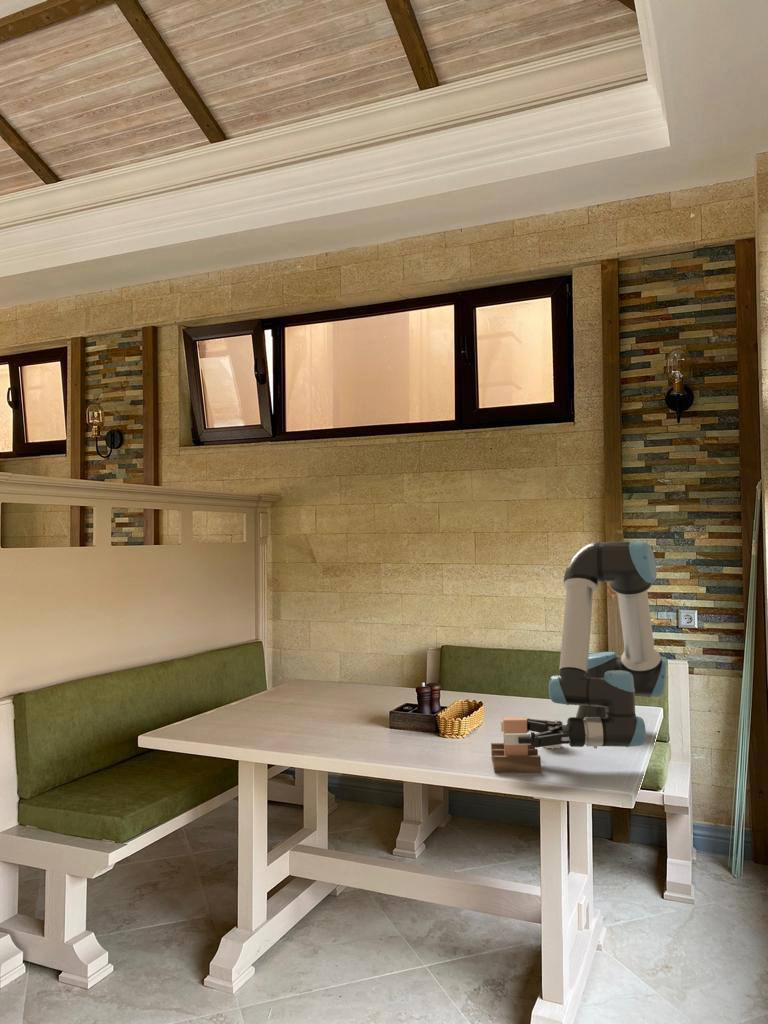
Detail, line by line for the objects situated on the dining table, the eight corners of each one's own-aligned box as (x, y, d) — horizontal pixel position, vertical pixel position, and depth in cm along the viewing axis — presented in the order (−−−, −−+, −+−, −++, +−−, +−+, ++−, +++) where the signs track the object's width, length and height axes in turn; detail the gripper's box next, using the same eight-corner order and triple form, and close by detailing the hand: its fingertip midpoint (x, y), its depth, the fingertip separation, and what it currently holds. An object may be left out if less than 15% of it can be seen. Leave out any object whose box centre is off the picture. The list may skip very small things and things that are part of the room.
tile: (504, 762, 210) (503, 717, 210) (527, 762, 209) (525, 717, 210) (505, 765, 207) (503, 720, 207) (528, 765, 206) (526, 720, 207)
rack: (491, 757, 218) (491, 743, 219) (535, 757, 218) (534, 742, 218) (494, 772, 205) (494, 757, 205) (540, 772, 204) (540, 756, 204)
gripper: (593, 759, 194) (507, 760, 196) (576, 734, 219) (500, 734, 221) (592, 729, 195) (506, 730, 196) (575, 707, 219) (499, 707, 221)
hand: (502, 732), depth 209 cm, fingers open, 13 cm apart
